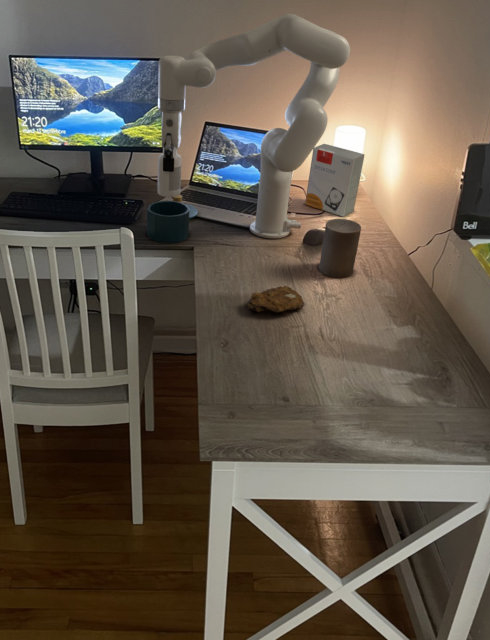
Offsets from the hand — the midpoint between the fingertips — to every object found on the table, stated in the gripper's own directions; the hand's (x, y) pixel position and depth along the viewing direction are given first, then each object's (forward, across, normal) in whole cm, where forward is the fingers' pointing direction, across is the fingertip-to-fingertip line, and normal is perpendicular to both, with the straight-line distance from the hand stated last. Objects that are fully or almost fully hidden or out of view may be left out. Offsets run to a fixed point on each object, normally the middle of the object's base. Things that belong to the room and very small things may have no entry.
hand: (169, 166), depth 198 cm
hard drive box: (+22, +31, -52) cm, 65 cm away
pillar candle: (+22, -17, -50) cm, 57 cm away
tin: (+21, 0, 0) cm, 21 cm away
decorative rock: (+22, -41, -32) cm, 56 cm away
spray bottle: (+8, 0, 0) cm, 8 cm away
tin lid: (+21, +17, -1) cm, 27 cm away
